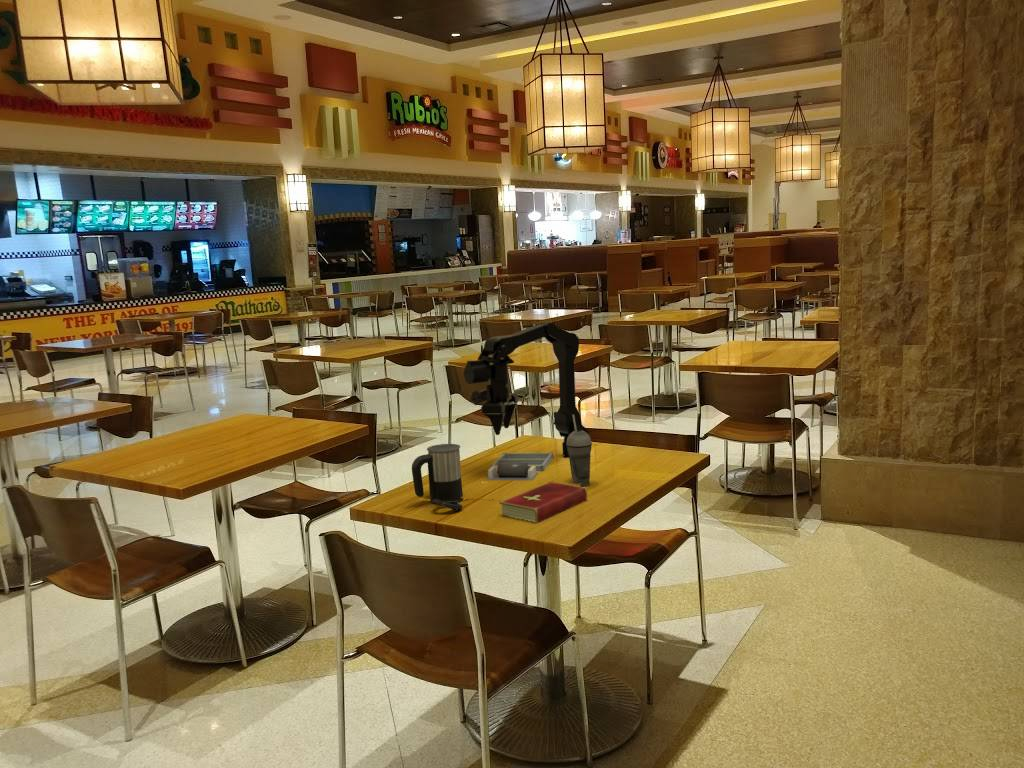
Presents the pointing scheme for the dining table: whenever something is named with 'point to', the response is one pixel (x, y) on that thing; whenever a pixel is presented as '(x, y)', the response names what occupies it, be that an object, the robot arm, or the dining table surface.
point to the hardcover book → (543, 501)
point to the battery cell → (512, 469)
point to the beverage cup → (579, 455)
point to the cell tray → (526, 459)
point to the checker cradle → (494, 476)
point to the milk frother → (440, 475)
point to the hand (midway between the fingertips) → (502, 431)
